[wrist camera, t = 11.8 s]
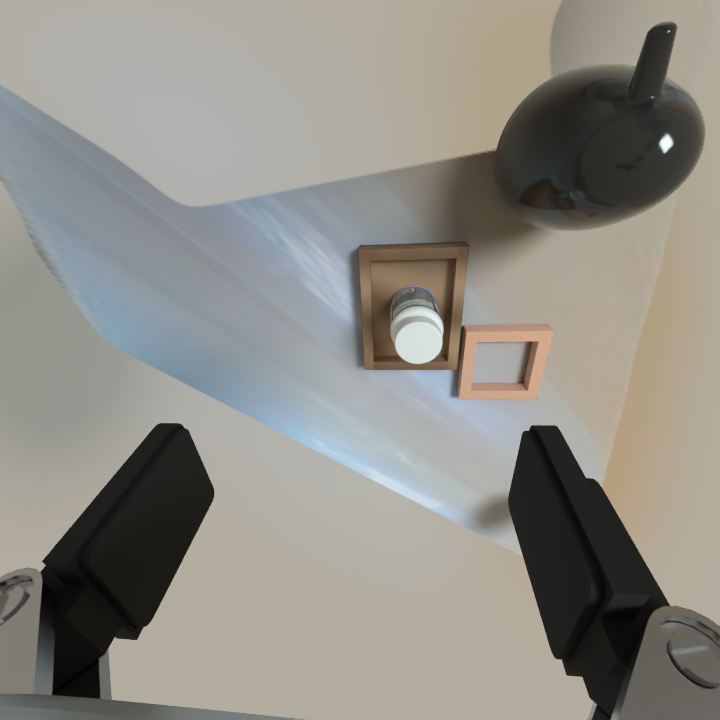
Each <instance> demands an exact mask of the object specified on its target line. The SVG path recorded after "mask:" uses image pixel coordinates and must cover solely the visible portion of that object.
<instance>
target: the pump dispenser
mask: <svg viewBox="0 0 720 720" xmlns="http://www.w3.org/2000/svg"><path fill="white" fill-rule="evenodd" d="M676 32H677V25H676V23H674V22H662V23H659V24H657V25H655V26H653V27H652V28H651V29H650V30H649V31H648V33H647V35H646V38H645V41H644V44H643V47H642V50H641V53H640V56H639V59H638V62H637V65H636V66H633V65H626V64H599V65H590V66H584V67H580V68H576V69H572V70H569V71H567V72H564V73H562V74H559V75H557V76H555V77H553V78H551V79H550V80H548V81H546V82H545V83H543V84H542V85H540V86H539V87H538V88H536V89H535V90H534V91H533V92H531V93H530V94H529V95H528V96H527V97H526V98H525V99H524V100H523V101H522V103H521V104H520V105H519V106H518V107H517V109H516V110H515V111H514V113H513V114H512V116H511V117H510V119H509V120H508V122H507V124H506V126H505V128H504V130H503V132H502V135H501V137H500V140H499V143H498V146H497V151H496V156H495V166H494V172H495V181H496V186H497V190H498V193H499V195H500V197H501V199H502V201H503V203H504V204H505V206H506V207H507V208H508V210H509V211H510V212H511V213H512V214H514V215H515V216H516V217H517V218H519V219H520V220H522V221H524V222H526V223H528V224H530V225H533V226H536V227H540V228H544V229H551V230H560V231H581V230H590V229H596V228H601V227H605V226H609V225H612V224H616V223H619V222H622V221H624V220H627V219H630V218H632V217H634V216H637V215H639V214H641V213H643V212H645V211H647V210H649V209H651V208H653V207H654V206H656V205H658V204H659V203H661V202H662V201H664V200H665V199H666V198H668V197H669V196H670V195H671V194H673V193H674V192H675V191H676V190H677V189H678V188H679V187H680V186H681V185H682V184H683V183H684V182H685V181H686V180H687V178H688V177H689V176H690V174H691V173H692V171H693V170H694V168H695V167H696V165H697V163H698V161H699V159H700V156H701V154H702V151H703V147H704V142H705V123H704V118H703V115H702V112H701V110H700V108H699V106H698V104H697V102H696V101H695V99H694V98H693V97H692V96H691V95H690V94H689V93H688V92H687V91H686V90H685V89H684V88H683V87H681V86H680V85H679V84H677V83H676V82H674V81H673V80H671V79H669V78H667V77H666V75H667V70H668V66H669V62H670V57H671V53H672V49H673V45H674V40H675V36H676Z"/></svg>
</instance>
